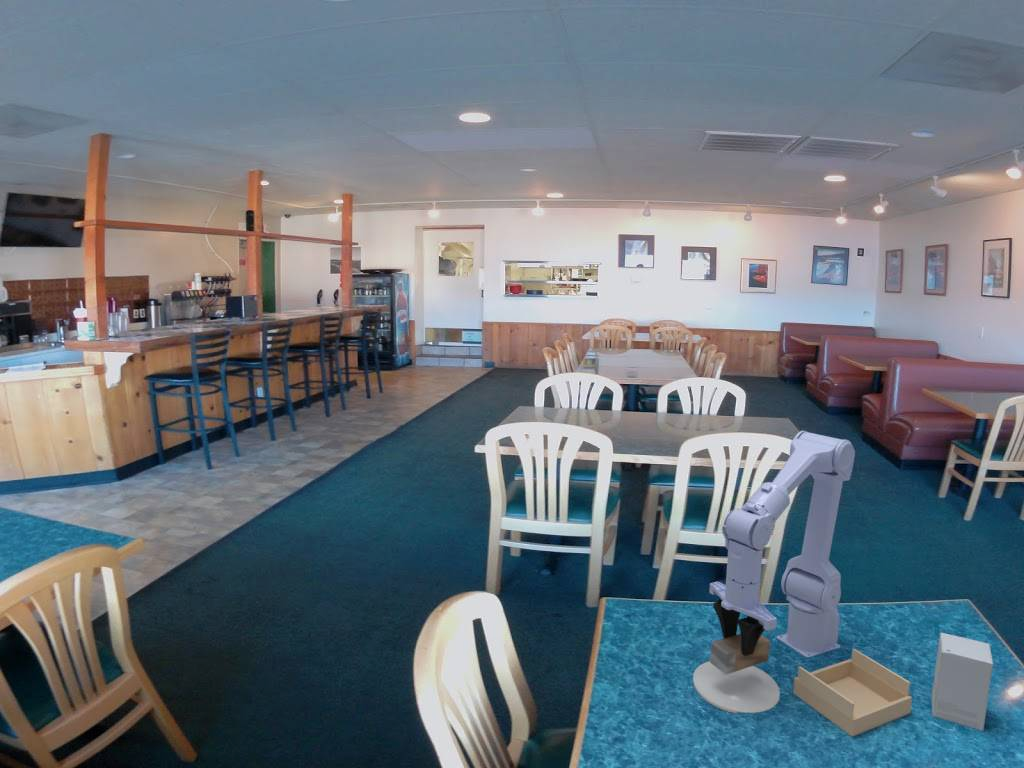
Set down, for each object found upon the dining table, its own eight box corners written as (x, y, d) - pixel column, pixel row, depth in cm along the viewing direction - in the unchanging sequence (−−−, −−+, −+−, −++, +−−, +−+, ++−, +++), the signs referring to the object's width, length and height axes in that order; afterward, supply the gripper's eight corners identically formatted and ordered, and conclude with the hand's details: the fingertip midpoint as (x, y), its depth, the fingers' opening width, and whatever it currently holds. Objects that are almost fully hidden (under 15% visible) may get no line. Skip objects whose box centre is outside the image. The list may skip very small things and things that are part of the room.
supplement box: (984, 734, 109) (994, 664, 107) (931, 718, 113) (940, 650, 111) (981, 709, 116) (990, 643, 113) (931, 694, 119) (939, 630, 117)
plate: (737, 656, 131) (738, 652, 131) (798, 701, 117) (798, 697, 117) (676, 674, 125) (676, 671, 125) (732, 724, 111) (733, 720, 111)
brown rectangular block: (752, 649, 124) (753, 629, 123) (768, 660, 121) (769, 640, 120) (710, 662, 120) (711, 642, 119) (725, 674, 117) (726, 654, 116)
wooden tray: (848, 675, 125) (851, 646, 124) (910, 715, 114) (913, 684, 113) (792, 695, 119) (795, 665, 118) (851, 739, 108) (855, 706, 107)
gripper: (698, 564, 122) (694, 631, 125) (756, 600, 109) (750, 674, 112) (728, 557, 125) (723, 623, 127) (788, 591, 112) (782, 664, 114)
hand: (738, 646), depth 120 cm, fingers closed on brown rectangular block, 4 cm apart
